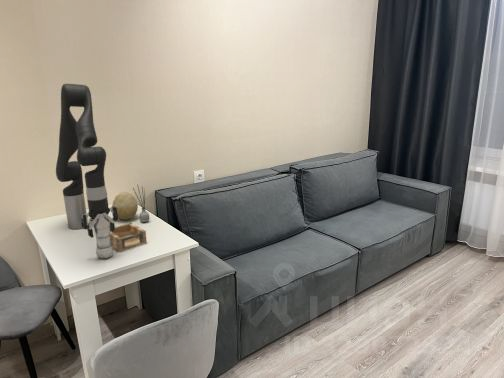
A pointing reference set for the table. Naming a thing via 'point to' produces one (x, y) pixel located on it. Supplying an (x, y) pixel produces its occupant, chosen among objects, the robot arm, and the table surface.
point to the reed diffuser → (143, 209)
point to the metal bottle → (103, 237)
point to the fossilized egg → (125, 205)
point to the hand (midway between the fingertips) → (102, 234)
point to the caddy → (127, 237)
